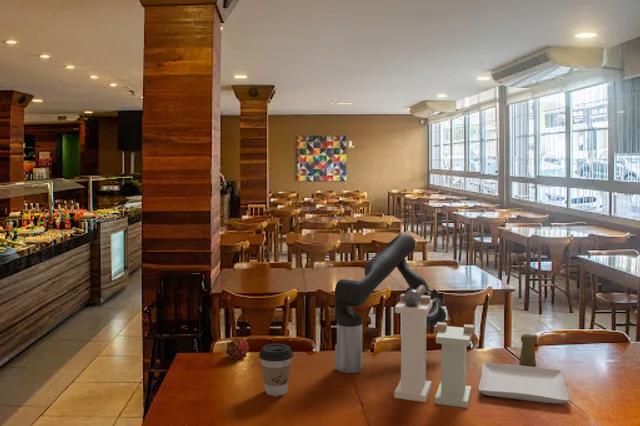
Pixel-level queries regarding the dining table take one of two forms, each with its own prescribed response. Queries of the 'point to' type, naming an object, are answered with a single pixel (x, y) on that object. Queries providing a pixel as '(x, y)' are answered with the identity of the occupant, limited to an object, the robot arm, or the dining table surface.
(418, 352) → the tall stand
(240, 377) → the dining table surface
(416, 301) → the grey bulb-ended bar
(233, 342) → the dragon fruit
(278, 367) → the coffee cup
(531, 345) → the olive pepper mill
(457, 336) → the low stand
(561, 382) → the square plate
